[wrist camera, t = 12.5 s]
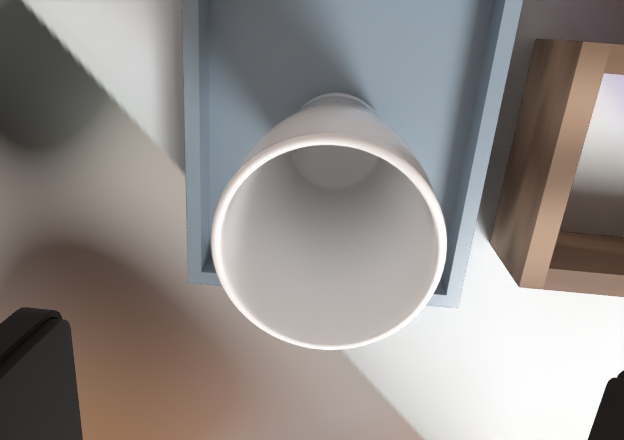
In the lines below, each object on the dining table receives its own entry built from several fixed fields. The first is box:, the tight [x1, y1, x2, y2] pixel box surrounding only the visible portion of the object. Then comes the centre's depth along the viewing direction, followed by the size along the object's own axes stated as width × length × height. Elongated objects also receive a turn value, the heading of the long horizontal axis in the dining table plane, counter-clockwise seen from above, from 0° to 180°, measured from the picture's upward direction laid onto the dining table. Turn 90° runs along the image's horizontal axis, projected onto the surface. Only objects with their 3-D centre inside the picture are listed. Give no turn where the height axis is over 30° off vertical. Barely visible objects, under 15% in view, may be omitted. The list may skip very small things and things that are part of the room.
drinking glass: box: [211, 93, 447, 350], centre depth 21 cm, size 7×7×15 cm
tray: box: [182, 0, 523, 308], centre depth 27 cm, size 18×16×3 cm
